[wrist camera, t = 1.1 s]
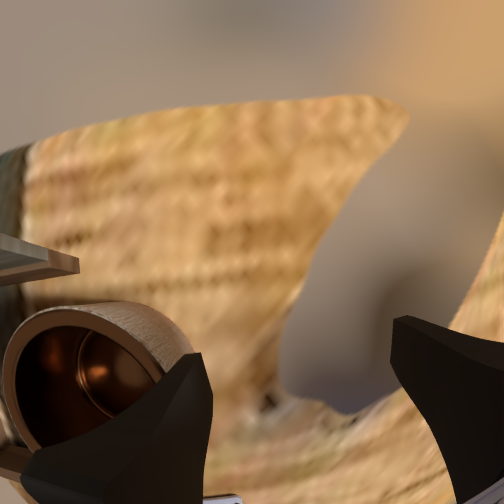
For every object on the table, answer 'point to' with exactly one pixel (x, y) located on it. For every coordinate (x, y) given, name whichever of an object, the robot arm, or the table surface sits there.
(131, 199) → the table surface
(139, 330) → the planter
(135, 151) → the table surface
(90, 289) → the table surface
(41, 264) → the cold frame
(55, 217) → the table surface
